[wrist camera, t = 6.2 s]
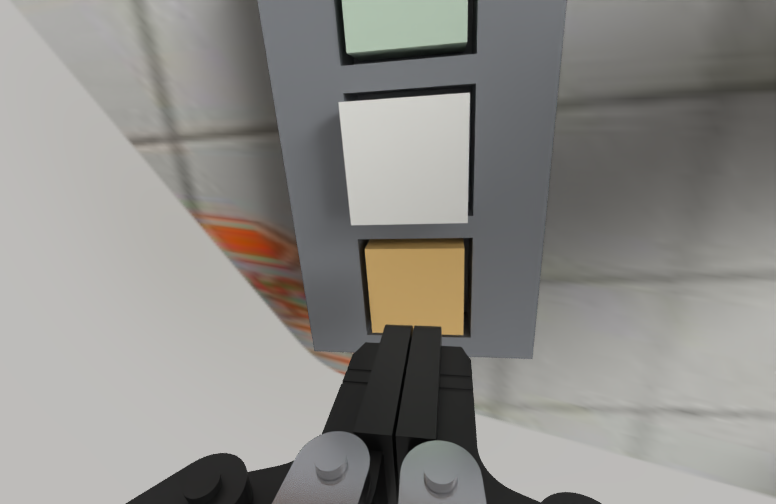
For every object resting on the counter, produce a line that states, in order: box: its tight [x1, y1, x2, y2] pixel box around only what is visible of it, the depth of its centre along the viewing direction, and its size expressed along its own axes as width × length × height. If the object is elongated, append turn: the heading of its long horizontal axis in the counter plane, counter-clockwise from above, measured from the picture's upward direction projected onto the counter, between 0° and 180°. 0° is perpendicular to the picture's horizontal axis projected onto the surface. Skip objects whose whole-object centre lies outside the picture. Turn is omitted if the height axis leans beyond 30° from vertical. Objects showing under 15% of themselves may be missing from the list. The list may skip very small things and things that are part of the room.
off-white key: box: [338, 93, 470, 225], centre depth 11 cm, size 4×4×2 cm
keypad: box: [257, 0, 567, 359], centre depth 14 cm, size 9×16×4 cm, turn 4°
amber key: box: [365, 238, 465, 335], centre depth 15 cm, size 4×4×2 cm
